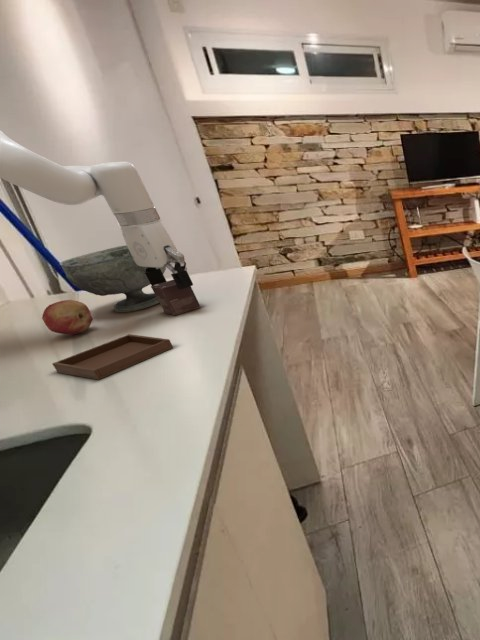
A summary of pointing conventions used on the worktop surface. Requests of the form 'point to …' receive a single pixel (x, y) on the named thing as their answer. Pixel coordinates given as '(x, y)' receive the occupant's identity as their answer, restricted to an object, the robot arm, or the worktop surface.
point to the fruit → (67, 317)
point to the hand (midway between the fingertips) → (173, 286)
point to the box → (175, 298)
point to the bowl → (111, 277)
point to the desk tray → (112, 356)
